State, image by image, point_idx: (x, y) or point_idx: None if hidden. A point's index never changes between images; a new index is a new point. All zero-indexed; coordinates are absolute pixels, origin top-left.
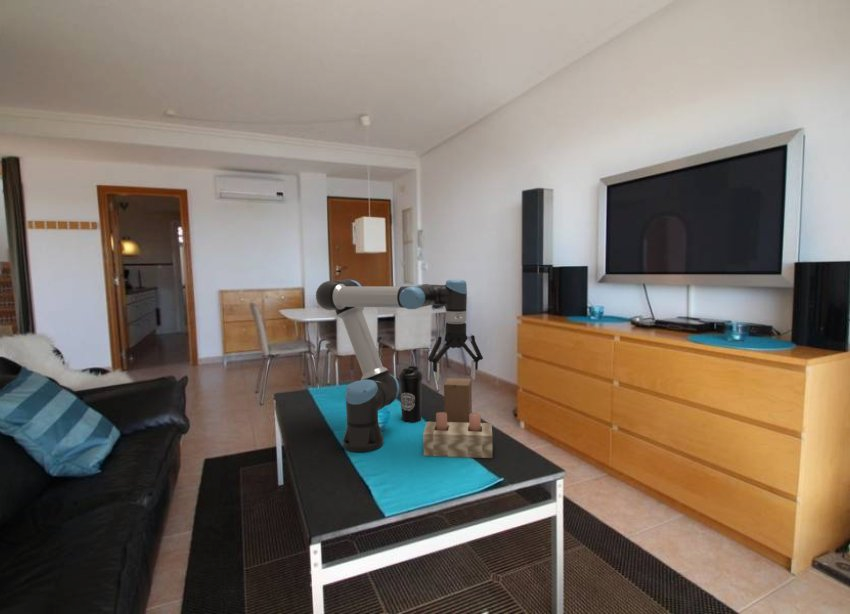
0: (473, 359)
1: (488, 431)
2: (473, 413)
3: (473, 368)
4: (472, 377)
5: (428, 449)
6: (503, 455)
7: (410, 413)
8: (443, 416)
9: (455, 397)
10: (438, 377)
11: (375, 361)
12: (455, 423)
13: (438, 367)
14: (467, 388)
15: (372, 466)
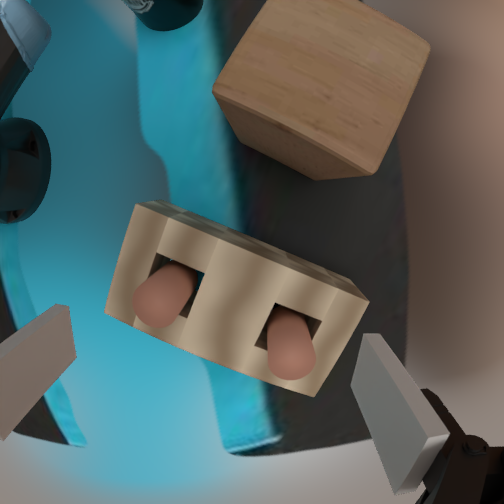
0: (447, 459)
1: (320, 366)
2: (293, 346)
3: (377, 447)
4: (357, 378)
5: None
6: (340, 354)
7: (147, 17)
8: (159, 326)
9: (280, 140)
10: (59, 371)
11: None
12: (236, 260)
13: (16, 417)
14: (358, 173)
15: (28, 298)
